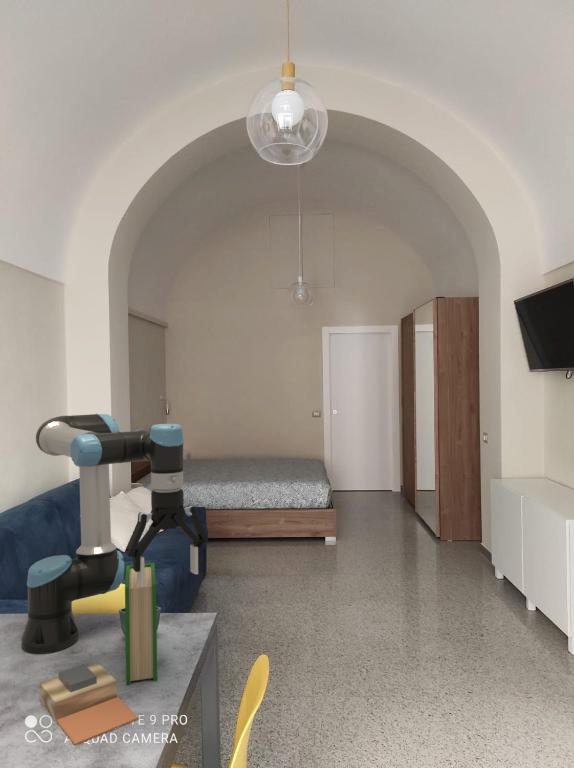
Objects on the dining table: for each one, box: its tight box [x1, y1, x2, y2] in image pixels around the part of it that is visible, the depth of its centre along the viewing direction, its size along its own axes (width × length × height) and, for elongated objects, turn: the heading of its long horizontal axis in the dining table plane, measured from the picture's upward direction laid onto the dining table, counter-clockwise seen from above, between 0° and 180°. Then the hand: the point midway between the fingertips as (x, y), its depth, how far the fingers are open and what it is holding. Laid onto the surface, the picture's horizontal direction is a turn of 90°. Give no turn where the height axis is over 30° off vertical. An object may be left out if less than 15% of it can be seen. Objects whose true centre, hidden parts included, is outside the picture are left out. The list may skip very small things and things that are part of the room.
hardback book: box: [124, 562, 158, 686], centre depth 150 cm, size 18×7×24 cm, turn 14°
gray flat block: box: [58, 663, 97, 692], centre depth 135 cm, size 8×6×2 cm
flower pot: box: [118, 605, 162, 638], centre depth 165 cm, size 9×9×9 cm
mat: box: [56, 696, 140, 746], centre depth 125 cm, size 11×14×1 cm
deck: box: [39, 663, 118, 722], centre depth 134 cm, size 11×14×4 cm
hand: (168, 578), depth 136 cm, fingers open, 13 cm apart
